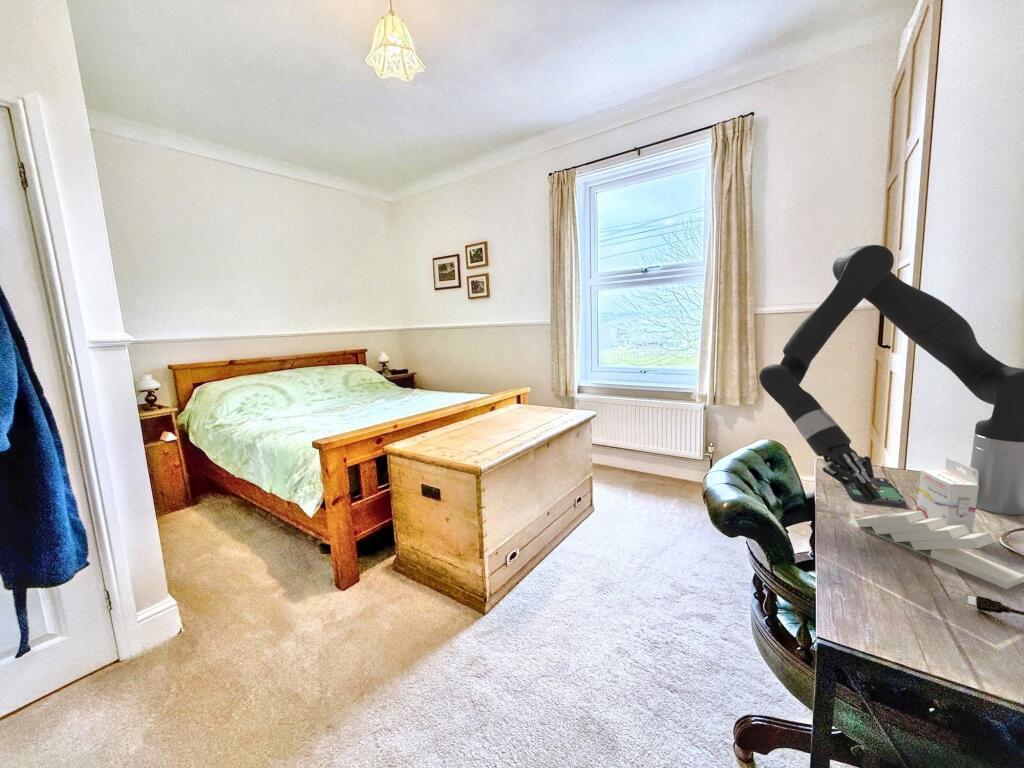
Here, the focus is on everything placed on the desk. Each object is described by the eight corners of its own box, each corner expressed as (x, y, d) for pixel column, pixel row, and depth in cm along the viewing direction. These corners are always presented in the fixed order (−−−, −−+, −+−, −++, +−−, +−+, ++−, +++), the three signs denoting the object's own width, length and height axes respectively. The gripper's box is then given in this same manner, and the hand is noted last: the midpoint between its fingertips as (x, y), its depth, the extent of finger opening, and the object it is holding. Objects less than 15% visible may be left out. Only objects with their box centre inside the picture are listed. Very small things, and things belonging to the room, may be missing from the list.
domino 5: (948, 543, 78) (1025, 575, 69) (946, 551, 79) (1023, 584, 69) (931, 549, 77) (1008, 582, 67) (930, 556, 77) (1006, 591, 68)
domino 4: (926, 536, 81) (989, 532, 73) (930, 544, 81) (995, 542, 72) (909, 541, 80) (972, 538, 71) (914, 550, 79) (978, 548, 70)
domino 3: (906, 529, 84) (964, 524, 76) (910, 537, 84) (970, 533, 75) (890, 533, 83) (948, 530, 74) (894, 542, 82) (953, 539, 74)
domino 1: (871, 515, 91) (921, 510, 82) (874, 523, 90) (926, 519, 81) (855, 519, 89) (905, 515, 80) (859, 527, 89) (909, 523, 80)
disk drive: (837, 482, 114) (851, 503, 101) (838, 473, 114) (852, 493, 101) (885, 488, 109) (907, 511, 96) (886, 478, 109) (908, 500, 96)
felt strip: (862, 519, 92) (862, 517, 92) (949, 554, 78) (949, 552, 78) (846, 524, 91) (846, 522, 91) (932, 560, 77) (932, 558, 77)
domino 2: (887, 522, 87) (942, 517, 79) (891, 529, 87) (947, 526, 78) (872, 526, 86) (925, 522, 77) (876, 534, 85) (930, 531, 77)
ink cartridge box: (913, 517, 92) (920, 456, 90) (939, 518, 91) (947, 456, 89) (944, 536, 84) (953, 470, 82) (973, 538, 83) (983, 470, 81)
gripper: (813, 427, 92) (870, 499, 82) (853, 420, 96) (912, 488, 86) (789, 443, 98) (840, 512, 88) (828, 436, 102) (880, 501, 92)
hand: (875, 500), depth 87 cm, fingers closed
